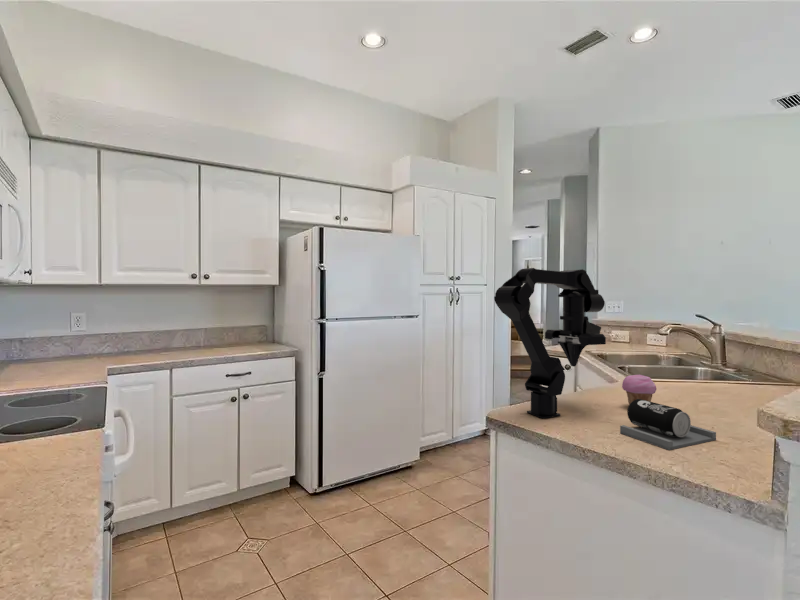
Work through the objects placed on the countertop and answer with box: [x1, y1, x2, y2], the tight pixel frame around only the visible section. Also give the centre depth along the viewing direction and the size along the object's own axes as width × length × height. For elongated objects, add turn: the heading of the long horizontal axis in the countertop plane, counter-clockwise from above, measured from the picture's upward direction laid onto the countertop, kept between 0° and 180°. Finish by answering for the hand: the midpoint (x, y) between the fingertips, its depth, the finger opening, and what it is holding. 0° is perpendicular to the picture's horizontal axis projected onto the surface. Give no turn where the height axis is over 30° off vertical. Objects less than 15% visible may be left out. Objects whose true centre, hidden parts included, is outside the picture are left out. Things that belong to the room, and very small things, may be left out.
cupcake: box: [621, 374, 657, 406], centre depth 122 cm, size 9×9×10 cm
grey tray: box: [619, 424, 717, 451], centre depth 98 cm, size 16×12×2 cm
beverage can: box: [626, 399, 692, 437], centre depth 100 cm, size 7×7×12 cm
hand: (573, 366), depth 122 cm, fingers closed
